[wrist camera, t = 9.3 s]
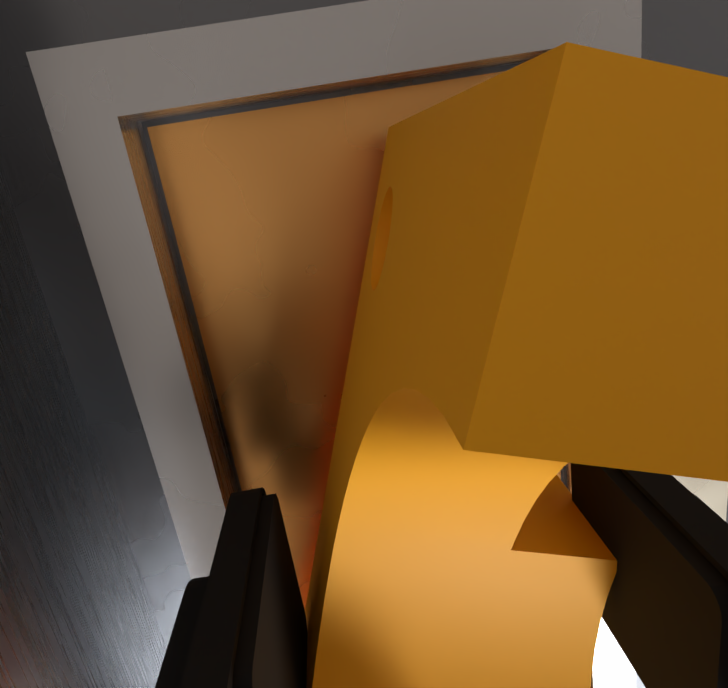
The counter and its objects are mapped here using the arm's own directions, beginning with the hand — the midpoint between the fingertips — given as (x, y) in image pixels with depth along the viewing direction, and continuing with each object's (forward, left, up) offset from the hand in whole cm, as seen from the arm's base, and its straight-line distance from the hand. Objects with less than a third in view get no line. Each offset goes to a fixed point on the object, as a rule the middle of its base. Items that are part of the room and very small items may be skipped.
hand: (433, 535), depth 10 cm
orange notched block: (0, 0, -1) cm, 1 cm away
